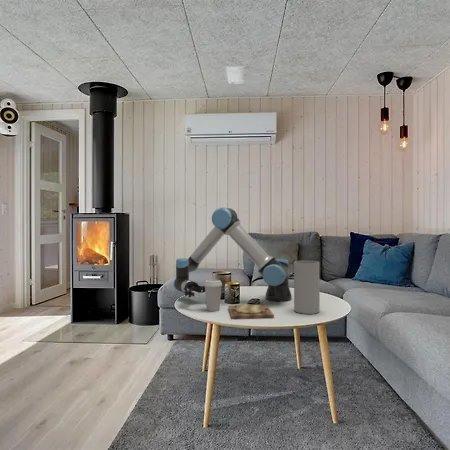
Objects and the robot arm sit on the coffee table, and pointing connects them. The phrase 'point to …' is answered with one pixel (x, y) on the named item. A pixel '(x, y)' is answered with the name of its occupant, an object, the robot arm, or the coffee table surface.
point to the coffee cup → (213, 294)
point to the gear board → (250, 312)
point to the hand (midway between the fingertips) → (209, 293)
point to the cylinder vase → (306, 287)
